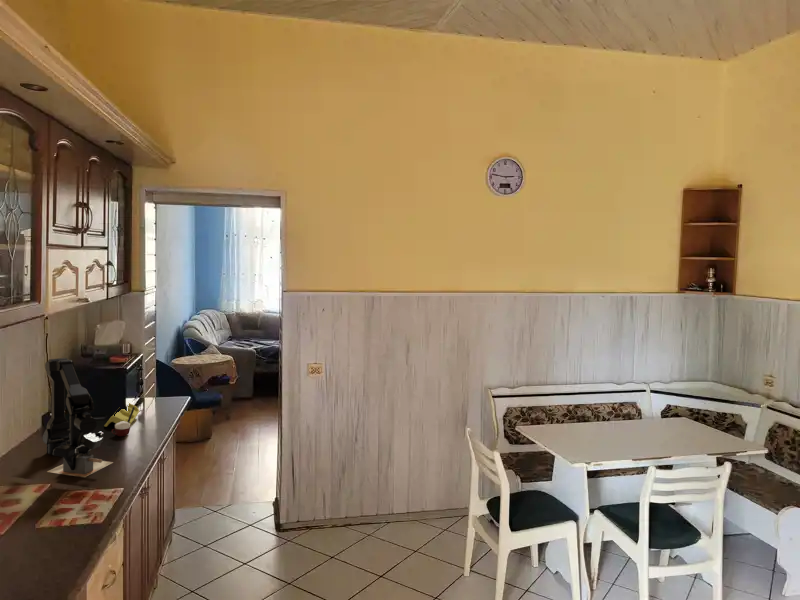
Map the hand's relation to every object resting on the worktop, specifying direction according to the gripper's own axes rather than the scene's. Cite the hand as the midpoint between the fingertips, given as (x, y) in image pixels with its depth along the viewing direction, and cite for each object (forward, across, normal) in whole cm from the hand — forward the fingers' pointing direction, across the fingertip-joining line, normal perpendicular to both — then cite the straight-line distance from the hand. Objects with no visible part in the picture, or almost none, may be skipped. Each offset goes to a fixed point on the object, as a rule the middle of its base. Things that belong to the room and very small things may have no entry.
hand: (78, 467), depth 227 cm
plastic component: (+3, +63, +26) cm, 69 cm away
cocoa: (+3, +46, +14) cm, 48 cm away
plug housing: (+1, 0, -3) cm, 3 cm away
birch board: (+3, +4, +2) cm, 5 cm away
